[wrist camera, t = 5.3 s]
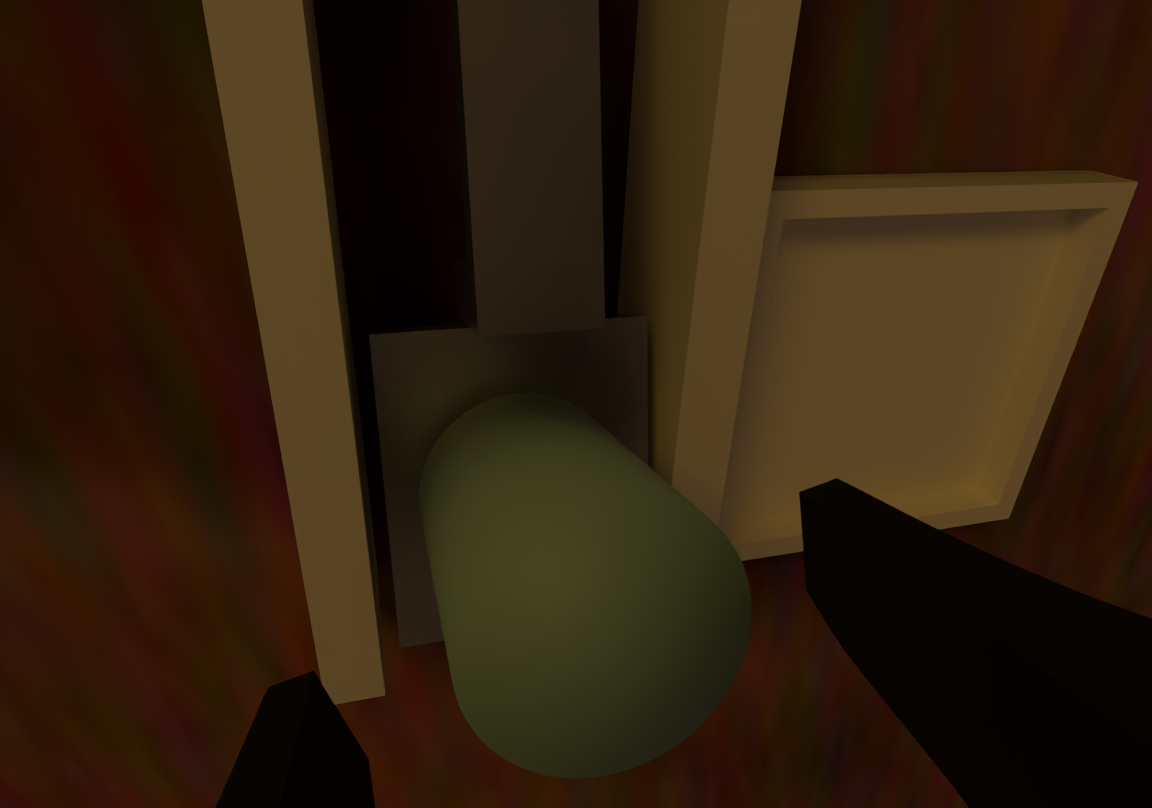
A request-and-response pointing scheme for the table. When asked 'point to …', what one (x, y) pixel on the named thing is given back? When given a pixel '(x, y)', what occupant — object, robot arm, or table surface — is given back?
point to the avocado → (575, 590)
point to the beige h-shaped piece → (647, 279)
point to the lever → (512, 268)
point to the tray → (911, 340)
